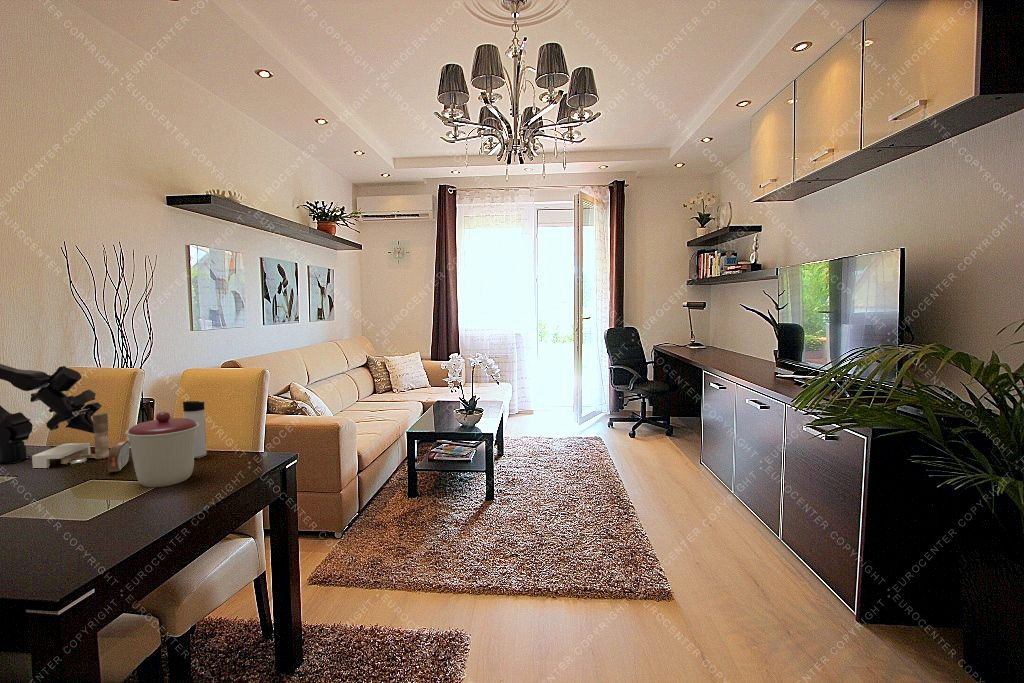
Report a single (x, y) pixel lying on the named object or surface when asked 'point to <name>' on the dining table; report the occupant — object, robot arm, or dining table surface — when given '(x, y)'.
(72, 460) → the grey metal disc
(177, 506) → the dining table surface
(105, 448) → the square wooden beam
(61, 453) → the cream rectangular box
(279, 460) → the dining table surface
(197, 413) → the travel mug
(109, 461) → the tin
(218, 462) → the dining table surface
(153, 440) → the canister
